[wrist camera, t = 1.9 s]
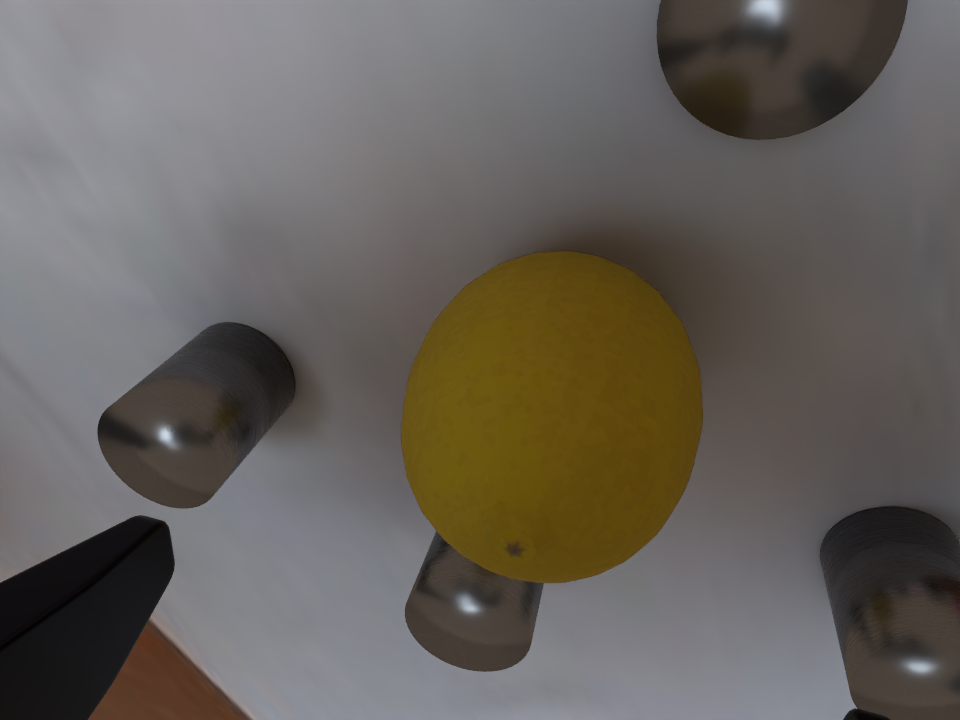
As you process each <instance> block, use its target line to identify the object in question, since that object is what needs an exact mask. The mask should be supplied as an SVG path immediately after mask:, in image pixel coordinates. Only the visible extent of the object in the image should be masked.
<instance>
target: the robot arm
mask: <svg viewBox="0 0 960 720" xmlns="http://www.w3.org/2000/svg"><path fill="white" fill-rule="evenodd" d="M174 566H175V561H174V554H173V548H172V542H171V536H170V530H169V526H168V525H167V524H166V522H164V521H162V520H158V519H154V518H150V517H147V516H141V515H140V516H135V517H132V518H130V519H128V520H126V521H124V522H121V523H119V524H117V525H115V526H113V527H111V528H109V529H107V530H105V531H103V532H101V533H99V534H97V535H95V536H93V537H91V538H89V539H87V540H85V541H83V542H81V543H79V544H77V545H75V546H73V547H71V548H69V549H67V550H65V551H63V552H61V553H59V554H57V555H55V556H53V557H51V558H49V559H47V560H45V561H43V562H41V563H39V564H37V565H35V566H33V567H31V568H29V569H27V570H25V571H23V572H21V573H19V574H17V575H15V576H13V577H11V578H9V579H7V580H5V581H3V582H1V583H0V720H88V718H89V717H90V716H91V714H92V713H93V711H94V710H95V708H96V707H97V705H98V704H99V703H100V701H101V700H102V698H103V697H104V695H105V694H106V692H107V691H108V689H109V688H110V686H111V685H112V683H113V682H114V680H115V678H116V677H117V675H118V673H119V671H120V670H121V668H122V666H123V665H124V663H125V661H126V659H127V658H128V656H129V654H130V652H131V650H132V649H133V647H134V645H135V643H136V641H137V640H138V638H139V636H140V634H141V632H142V631H143V629H144V627H145V625H146V623H147V622H148V620H149V618H150V616H151V614H152V613H153V611H154V609H155V607H156V605H157V604H158V602H159V600H160V598H161V596H162V595H163V593H164V591H165V589H166V587H167V586H168V584H169V582H170V580H171V578H172V575H173V572H174ZM843 720H890V719H889V718H887V717H885V716H883V715H880V714H876V713H872V712H868V711H865V710H861V709H852V710H850V711H849V712H848V713H847V714H846V716H845V718H844V719H843Z"/></svg>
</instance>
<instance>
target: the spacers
mask: <svg viewBox="0 0 960 720" xmlns="http://www.w3.org/2000/svg"><path fill="white" fill-rule="evenodd" d="M907 2H908V0H661V3H660V7H659V14H658V20H657V44H658V54H659V58H660V62H661V67H662V70H663V72H664V75H665V78H666V80H667V82H668V84H669V86H670V88H671V90H672V92H673V94H674V95H675V96H676V98H677V99H678V100H679V102H680V103H681V104H682V106H683V107H684V108H685V109H686V110H687V111H688V112H689V113H690V114H691V115H693V116H694V117H695V118H697V119H698V120H699V121H700V122H702V123H703V124H705V125H707V126H709V127H710V128H712V129H714V130H716V131H719V132H722V133H724V134H727V135H730V136H735V137H739V138H745V139H755V140H760V139H776V138H782V137H788V136H792V135H795V134H799V133H802V132H805V131H807V130H810V129H812V128H815V127H817V126H819V125H821V124H823V123H825V122H826V121H828V120H830V119H832V118H833V117H835V116H836V115H838V114H839V113H841V112H842V111H844V110H845V109H846V108H848V107H849V106H850V105H851V104H852V103H853V102H855V101H856V100H857V99H858V98H859V97H860V96H861V95H862V94H863V93H864V92H865V91H866V90H867V89H868V88H869V87H870V85H871V84H872V83H873V82H874V80H875V79H876V78H877V76H878V75H879V74H880V72H881V71H882V70H883V68H884V66H885V65H886V63H887V61H888V60H889V58H890V56H891V54H892V52H893V50H894V48H895V46H896V43H897V41H898V39H899V36H900V33H901V30H902V26H903V23H904V19H905V14H906V9H907ZM294 392H295V380H294V375H293V371H292V369H291V366H290V364H289V362H288V360H287V358H286V357H285V355H284V354H283V353H282V351H281V350H280V349H279V348H278V347H277V346H276V345H275V344H274V343H273V342H272V341H271V340H270V339H269V338H268V337H266V336H265V335H263V334H262V333H260V332H258V331H257V330H255V329H253V328H250V327H248V326H245V325H241V324H236V323H219V324H215V325H212V326H210V327H208V328H206V329H205V330H203V331H202V332H201V333H200V334H198V335H197V336H196V337H195V338H194V339H192V340H191V341H190V342H189V343H187V344H186V345H185V346H184V347H182V348H181V349H180V350H179V351H178V352H176V353H175V354H174V355H173V356H171V357H170V358H169V359H168V360H166V361H165V362H164V363H163V364H162V365H160V366H159V367H158V368H157V369H155V370H154V371H153V372H152V373H150V374H149V375H148V376H147V377H145V378H144V379H143V380H142V381H141V382H139V383H138V384H137V385H136V386H134V387H133V388H132V389H131V390H129V391H128V392H127V393H126V394H125V395H123V396H122V397H121V398H120V399H118V400H117V401H116V402H115V403H113V404H112V405H111V406H110V407H108V408H107V409H106V410H105V411H104V413H103V414H102V416H101V418H100V420H99V424H98V441H99V445H100V448H101V451H102V453H103V455H104V457H105V459H106V461H107V462H108V464H109V465H110V467H111V468H112V470H113V471H114V472H115V473H116V475H117V476H118V477H119V478H120V479H121V480H122V481H123V482H124V483H126V484H127V485H128V486H129V487H130V488H132V489H133V490H134V491H136V492H137V493H139V494H140V495H142V496H143V497H145V498H147V499H149V500H151V501H153V502H156V503H158V504H161V505H164V506H168V507H173V508H193V507H197V506H200V505H202V504H204V503H206V502H207V501H208V500H210V499H211V498H212V496H213V495H214V494H215V493H216V492H217V491H218V489H219V488H220V487H221V486H222V485H223V483H224V482H225V481H226V480H227V479H228V478H229V476H230V475H231V474H232V473H233V472H234V470H235V469H236V468H237V467H238V466H239V465H240V463H241V462H242V461H243V460H244V459H245V457H246V456H247V455H248V454H249V453H250V452H251V450H252V449H253V448H254V447H255V446H256V444H257V443H258V442H259V441H260V440H261V439H262V437H263V436H264V435H265V434H266V433H267V431H268V430H269V429H270V428H271V427H272V426H273V424H274V423H275V422H276V421H277V420H278V418H279V417H280V416H281V415H282V414H283V413H284V411H285V410H286V409H287V408H288V407H289V405H290V404H291V402H292V399H293V397H294ZM820 560H821V565H822V570H823V574H824V578H825V583H826V587H827V592H828V596H829V600H830V605H831V609H832V614H833V618H834V622H835V627H836V631H837V636H838V640H839V644H840V649H841V653H842V658H843V662H844V666H845V671H846V675H847V680H848V684H849V688H850V693H851V697H852V699H853V702H854V704H855V705H856V707H857V708H858V709H861V710H865V711H868V712H872V713H876V714H880V715H883V716H885V717H887V718H889V719H890V720H960V545H959V543H958V541H957V539H956V537H955V535H954V533H953V532H952V531H951V530H950V529H949V528H948V527H947V526H946V525H945V524H944V523H943V522H941V521H940V520H938V519H937V518H935V517H933V516H931V515H929V514H926V513H924V512H920V511H917V510H913V509H907V508H897V507H885V508H876V509H871V510H866V511H863V512H859V513H857V514H854V515H852V516H850V517H848V518H846V519H844V520H842V521H841V522H840V523H838V524H837V525H836V526H835V527H833V528H832V529H831V530H830V532H829V533H828V534H827V535H826V537H825V539H824V540H823V543H822V545H821V550H820ZM543 585H544V583H535V582H529V581H523V580H517V579H511V578H508V577H505V576H503V575H500V574H497V573H494V572H491V571H489V570H487V569H485V568H483V567H481V566H480V565H478V564H476V563H474V562H473V561H471V560H469V559H467V558H466V557H464V556H463V555H461V554H460V553H459V552H458V551H457V550H455V549H454V548H453V547H452V546H451V545H450V544H448V543H447V542H446V541H445V540H444V539H443V538H442V537H441V535H440V534H439V533H438V532H437V531H436V533H435V536H434V538H433V540H432V543H431V545H430V548H429V550H428V552H427V555H426V557H425V560H424V562H423V564H422V567H421V569H420V572H419V574H418V576H417V579H416V581H415V584H414V586H413V588H412V591H411V593H410V596H409V598H408V601H407V603H406V607H405V618H406V623H407V625H408V628H409V630H410V632H411V633H412V635H413V636H414V638H415V639H416V640H417V641H418V643H419V644H420V645H421V646H422V647H423V648H425V649H426V650H427V651H428V652H430V653H431V654H432V655H434V656H435V657H437V658H439V659H441V660H442V661H444V662H446V663H449V664H451V665H454V666H457V667H460V668H463V669H467V670H473V671H484V672H486V671H498V670H503V669H506V668H509V667H512V666H514V665H515V664H517V663H518V662H520V661H521V660H522V659H523V658H524V657H525V656H526V654H527V653H528V651H529V648H530V645H531V641H532V636H533V632H534V627H535V622H536V618H537V613H538V608H539V604H540V599H541V594H542V590H543Z"/></svg>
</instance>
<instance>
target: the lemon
mask: <svg viewBox="0 0 960 720" xmlns="http://www.w3.org/2000/svg"><path fill="white" fill-rule="evenodd" d="M702 423H703V406H702V393H701V380H700V370H699V366H698V362H697V359H696V356H695V354H694V351H693V349H692V346H691V344H690V341H689V338H688V336H687V333H686V331H685V328H684V326H683V324H682V322H681V321H680V319H679V318H678V317H677V315H676V314H675V313H674V312H673V310H672V309H671V308H670V306H669V305H668V304H667V302H666V301H665V300H664V299H663V297H662V296H661V295H660V293H659V292H658V291H657V290H656V289H655V288H653V287H652V286H651V285H649V284H648V283H647V282H646V281H644V280H643V279H642V278H640V277H639V276H638V275H637V274H635V273H634V272H633V271H631V270H629V269H627V268H625V267H623V266H620V265H618V264H616V263H614V262H611V261H609V260H607V259H605V258H603V257H600V256H594V255H589V254H584V253H578V252H573V251H556V252H538V253H532V254H529V255H526V256H522V257H519V258H516V259H513V260H509V261H506V262H503V263H501V264H499V265H497V266H496V267H494V268H492V269H491V270H489V271H488V272H486V273H485V274H483V275H481V276H480V277H478V278H477V279H475V280H473V281H472V282H471V283H469V284H468V285H466V286H465V287H464V288H463V289H462V290H461V291H460V292H459V293H458V295H457V296H456V297H455V298H454V299H453V300H452V301H451V302H450V303H449V305H448V306H447V307H446V308H445V309H444V310H443V311H442V312H441V313H440V315H439V316H438V317H437V318H436V320H435V321H434V323H433V324H432V326H431V328H430V330H429V331H428V333H427V335H426V338H425V340H424V342H423V344H422V346H421V348H420V350H419V352H418V355H417V357H416V359H415V361H414V363H413V366H412V369H411V371H410V375H409V379H408V383H407V388H406V395H405V402H404V410H403V418H402V426H401V442H402V451H403V457H404V463H405V469H406V475H407V478H408V481H409V484H410V486H411V489H412V491H413V493H414V495H415V498H416V500H417V502H418V504H419V506H420V509H421V511H422V513H423V514H424V515H425V516H426V518H427V519H428V520H429V521H430V523H431V524H432V525H433V527H434V528H435V529H436V530H437V532H438V533H439V534H440V535H441V537H442V538H443V539H444V540H445V541H446V542H447V543H448V544H450V545H451V546H452V547H453V548H454V549H455V550H457V551H458V552H459V553H460V554H461V555H463V556H464V557H466V558H467V559H469V560H471V561H473V562H474V563H476V564H478V565H480V566H481V567H483V568H485V569H487V570H489V571H491V572H494V573H497V574H500V575H503V576H505V577H508V578H511V579H517V580H523V581H529V582H535V583H565V582H570V581H574V580H579V579H583V578H588V577H592V576H595V575H598V574H601V573H603V572H605V571H607V570H609V569H611V568H613V567H615V566H617V565H619V564H621V563H623V562H625V561H626V560H628V559H629V558H630V557H632V556H633V555H634V554H635V553H637V552H638V551H639V550H640V549H641V548H642V547H643V546H645V545H646V544H647V543H648V542H649V541H650V540H652V539H653V538H654V537H655V536H656V535H657V533H658V532H659V531H660V530H661V528H662V527H663V526H664V524H665V522H666V521H667V519H668V518H669V516H670V514H671V513H672V511H673V510H674V508H675V506H676V505H677V503H678V502H679V500H680V498H681V496H682V494H683V492H684V491H685V488H686V486H687V483H688V481H689V478H690V475H691V472H692V468H693V465H694V460H695V456H696V452H697V448H698V444H699V439H700V435H701V429H702Z"/></svg>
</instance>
